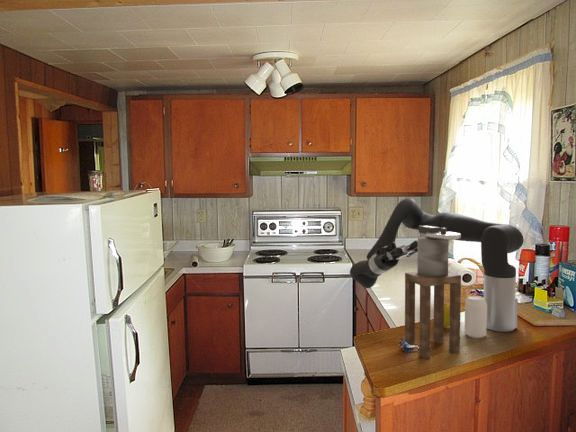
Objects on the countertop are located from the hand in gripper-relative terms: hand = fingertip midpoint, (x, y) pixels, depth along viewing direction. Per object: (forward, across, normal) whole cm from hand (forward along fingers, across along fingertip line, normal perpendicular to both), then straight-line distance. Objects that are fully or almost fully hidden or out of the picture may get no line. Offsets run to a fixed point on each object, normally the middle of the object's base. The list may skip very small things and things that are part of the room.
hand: (406, 244), depth 144 cm
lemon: (-9, +12, +27) cm, 31 cm away
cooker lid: (+16, 0, +4) cm, 16 cm away
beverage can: (-2, +16, +31) cm, 35 cm away
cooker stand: (+2, -4, +33) cm, 33 cm away
